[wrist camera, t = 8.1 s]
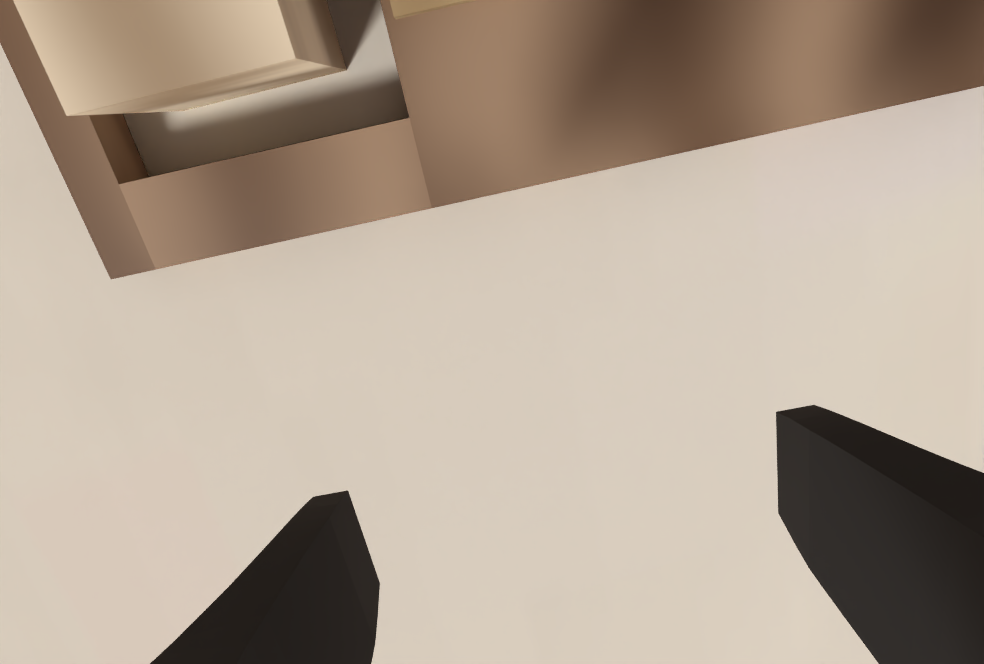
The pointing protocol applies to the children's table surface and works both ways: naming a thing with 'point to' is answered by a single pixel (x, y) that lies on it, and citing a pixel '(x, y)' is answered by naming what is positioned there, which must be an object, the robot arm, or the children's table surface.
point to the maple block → (176, 50)
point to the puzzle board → (512, 110)
